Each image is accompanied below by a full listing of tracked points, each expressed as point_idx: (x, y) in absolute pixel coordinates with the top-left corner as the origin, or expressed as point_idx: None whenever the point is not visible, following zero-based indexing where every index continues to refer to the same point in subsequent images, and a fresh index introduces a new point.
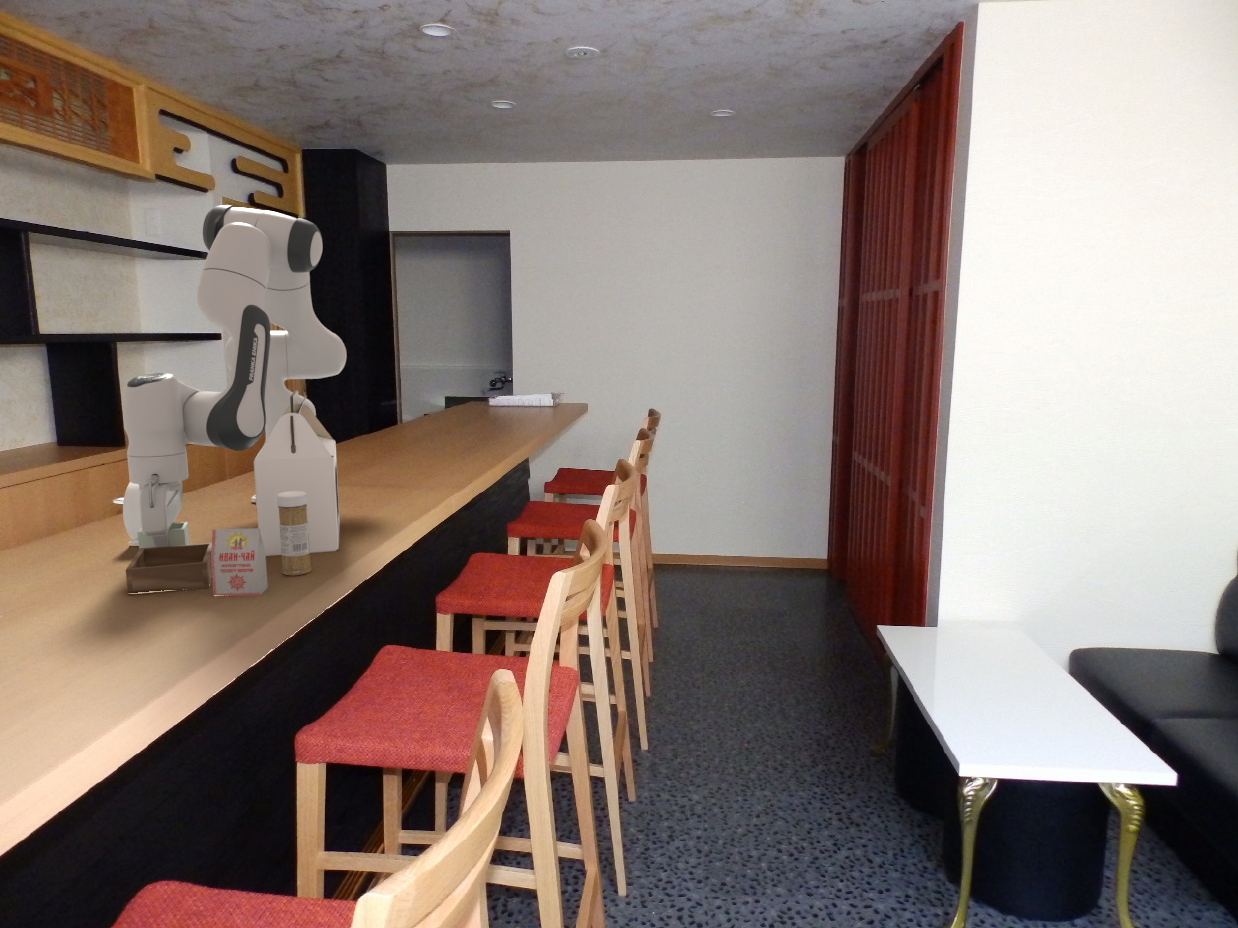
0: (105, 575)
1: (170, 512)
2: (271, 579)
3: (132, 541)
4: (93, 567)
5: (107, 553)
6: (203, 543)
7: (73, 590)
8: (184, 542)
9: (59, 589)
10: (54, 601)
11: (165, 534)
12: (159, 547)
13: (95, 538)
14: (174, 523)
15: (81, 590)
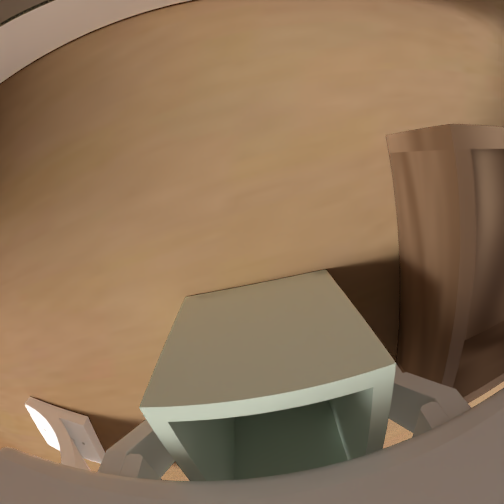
0: (387, 428)
1: (502, 481)
2: (492, 3)
3: (94, 459)
4: None
5: (168, 479)
6: (459, 183)
7: None
8: (358, 317)
9: None
10: None
11: (460, 396)
12: (451, 370)
13: None
14: (191, 458)
15: (471, 403)
